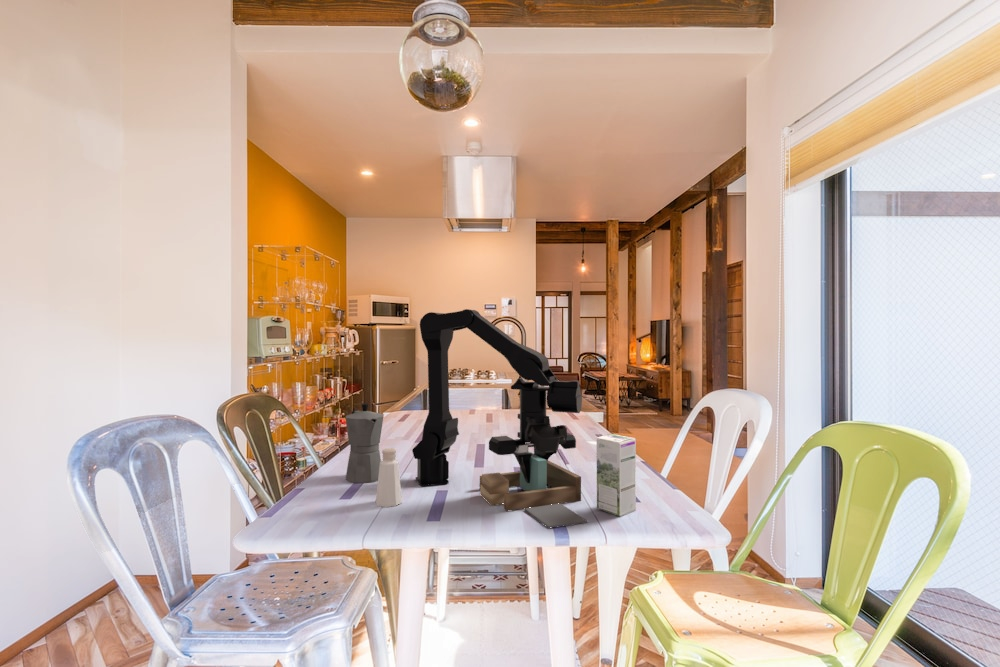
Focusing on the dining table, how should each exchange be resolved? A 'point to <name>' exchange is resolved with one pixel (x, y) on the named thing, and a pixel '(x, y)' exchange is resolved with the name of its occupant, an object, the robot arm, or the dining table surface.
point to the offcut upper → (495, 483)
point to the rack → (557, 477)
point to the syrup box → (616, 474)
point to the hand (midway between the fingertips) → (532, 482)
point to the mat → (555, 515)
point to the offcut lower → (492, 496)
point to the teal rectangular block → (535, 474)
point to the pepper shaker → (388, 480)
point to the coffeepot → (364, 445)
